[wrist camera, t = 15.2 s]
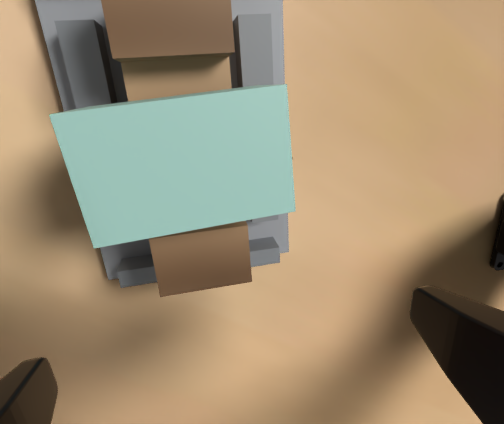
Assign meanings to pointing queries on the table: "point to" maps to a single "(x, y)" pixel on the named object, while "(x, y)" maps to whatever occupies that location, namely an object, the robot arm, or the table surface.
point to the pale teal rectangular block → (179, 161)
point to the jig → (114, 91)
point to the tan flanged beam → (171, 84)
